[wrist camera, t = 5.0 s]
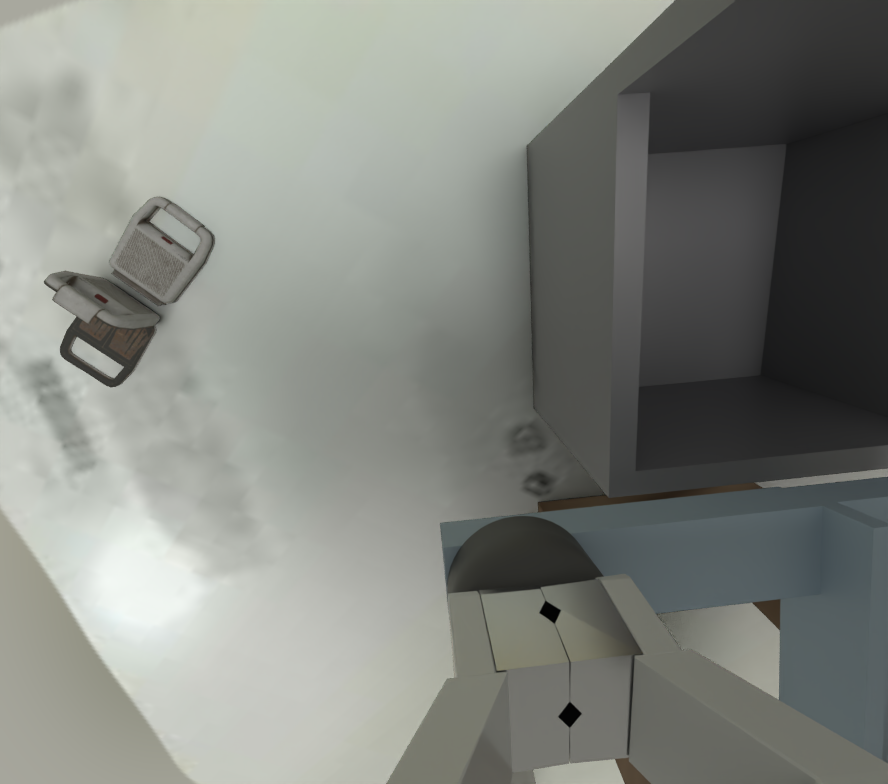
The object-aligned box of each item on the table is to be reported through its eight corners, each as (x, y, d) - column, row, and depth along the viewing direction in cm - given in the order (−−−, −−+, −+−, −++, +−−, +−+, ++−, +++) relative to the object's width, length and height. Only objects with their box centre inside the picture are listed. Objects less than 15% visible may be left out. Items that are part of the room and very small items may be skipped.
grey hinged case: (161, 191, 19) (94, 172, 15) (225, 239, 20) (177, 233, 16) (61, 349, 21) (-24, 371, 17) (124, 390, 22) (56, 420, 17)
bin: (792, 126, 20) (2026, -303, 5) (762, 385, 23) (1440, 628, 8) (526, 145, 20) (949, -268, 4) (533, 407, 23) (787, 713, 7)
